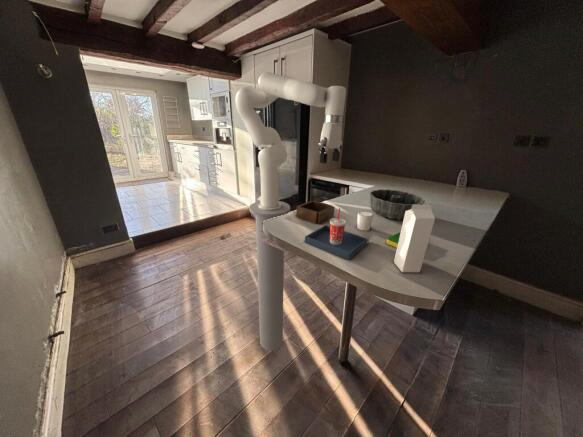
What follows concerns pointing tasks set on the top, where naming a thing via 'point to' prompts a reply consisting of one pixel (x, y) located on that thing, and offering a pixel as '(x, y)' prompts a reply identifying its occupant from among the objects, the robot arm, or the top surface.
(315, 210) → the basket
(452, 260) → the top surface
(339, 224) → the beverage cup
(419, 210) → the milk
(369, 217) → the white cylinder
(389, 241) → the dish sponge
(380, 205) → the bundt pan
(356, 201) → the top surface
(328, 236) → the tray
